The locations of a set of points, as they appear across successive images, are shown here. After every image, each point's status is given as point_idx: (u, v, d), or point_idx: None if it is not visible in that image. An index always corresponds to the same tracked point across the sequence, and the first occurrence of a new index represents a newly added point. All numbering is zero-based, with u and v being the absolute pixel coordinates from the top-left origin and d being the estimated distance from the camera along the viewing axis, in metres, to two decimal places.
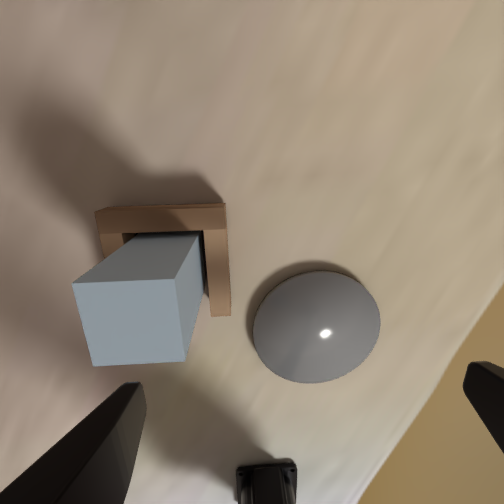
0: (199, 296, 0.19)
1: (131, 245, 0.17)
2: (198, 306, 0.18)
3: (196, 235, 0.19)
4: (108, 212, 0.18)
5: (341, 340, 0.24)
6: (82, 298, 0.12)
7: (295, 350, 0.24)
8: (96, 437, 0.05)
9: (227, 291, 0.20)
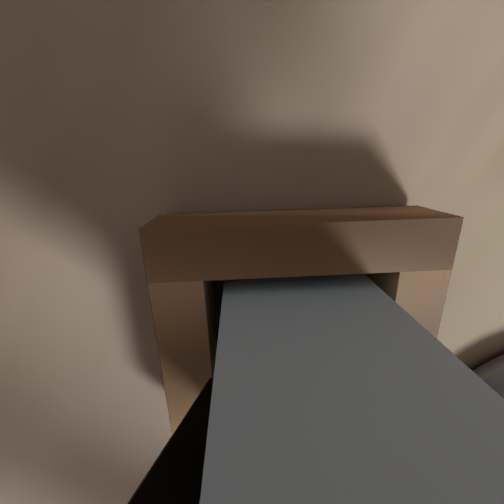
0: None
1: (245, 324, 0.06)
2: None
3: (369, 281, 0.08)
4: (175, 230, 0.07)
5: None
6: None
7: None
8: None
9: None
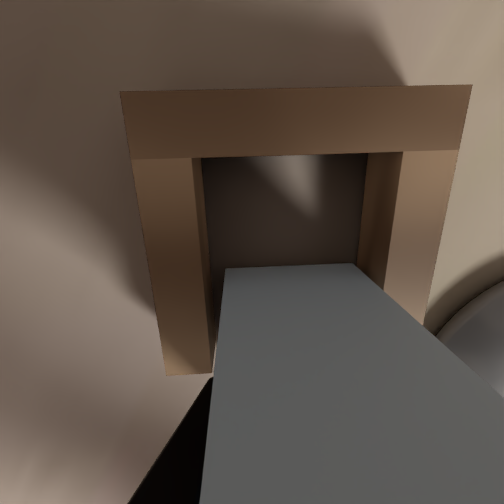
0: None
1: (245, 323, 0.06)
2: None
3: (369, 280, 0.08)
4: (159, 93, 0.06)
5: None
6: None
7: None
8: None
9: (422, 307, 0.09)
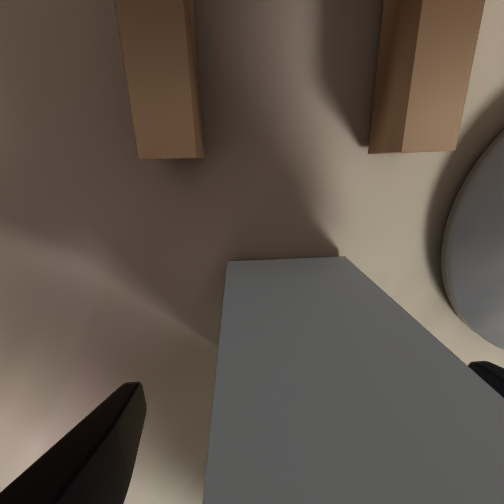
0: None
1: (245, 307, 0.07)
2: None
3: (359, 271, 0.09)
4: None
5: None
6: None
7: None
8: (96, 437, 0.05)
9: (468, 61, 0.07)
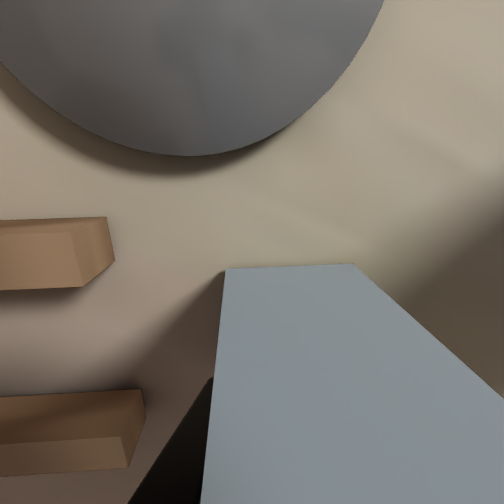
0: (382, 312, 0.07)
1: None
2: (415, 329, 0.06)
3: None
4: None
5: None
6: None
7: None
8: None
9: None
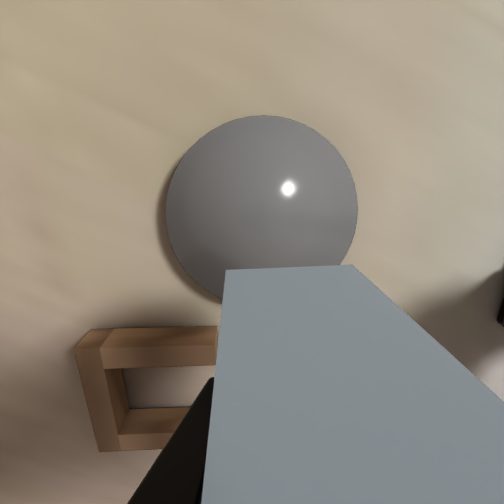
0: (382, 313, 0.07)
1: None
2: (415, 331, 0.06)
3: (224, 291, 0.08)
4: (97, 442, 0.19)
5: (280, 182, 0.15)
6: None
7: (291, 251, 0.16)
8: None
9: (180, 347, 0.16)
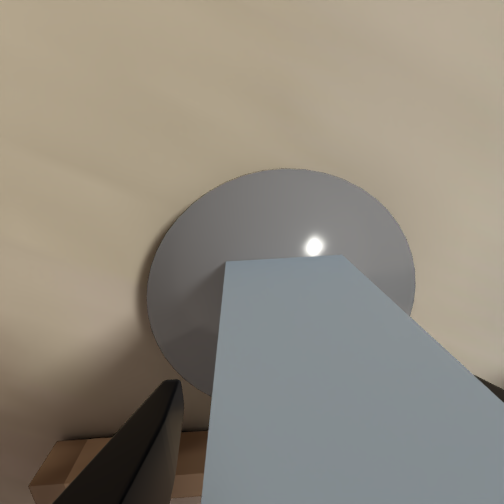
0: (364, 295, 0.07)
1: None
2: (391, 308, 0.07)
3: None
4: None
5: None
6: None
7: None
8: (149, 433, 0.05)
9: None
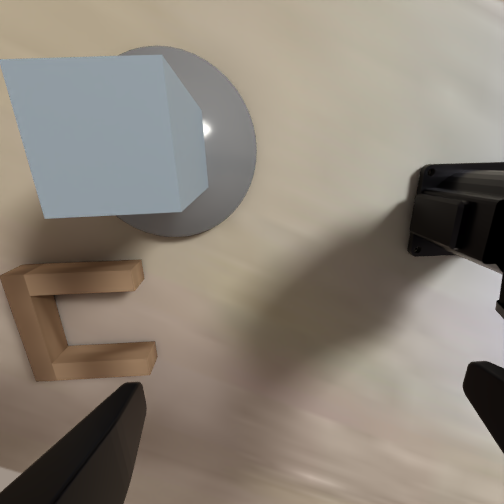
0: None
1: None
2: None
3: None
4: (33, 371, 0.20)
5: None
6: (65, 208, 0.09)
7: None
8: (96, 437, 0.05)
9: (99, 273, 0.18)
